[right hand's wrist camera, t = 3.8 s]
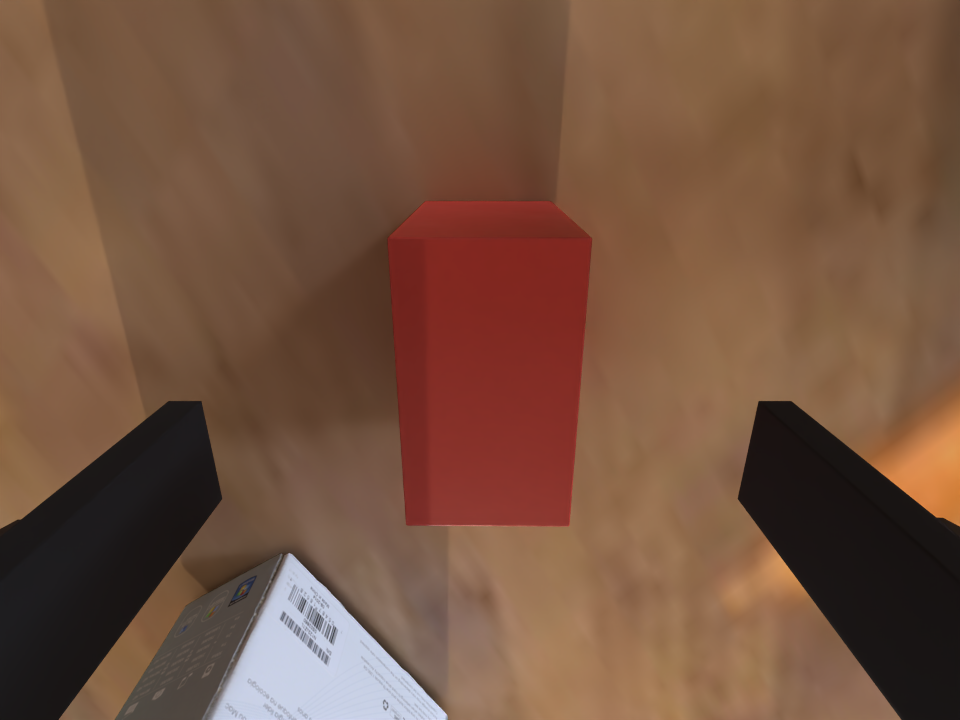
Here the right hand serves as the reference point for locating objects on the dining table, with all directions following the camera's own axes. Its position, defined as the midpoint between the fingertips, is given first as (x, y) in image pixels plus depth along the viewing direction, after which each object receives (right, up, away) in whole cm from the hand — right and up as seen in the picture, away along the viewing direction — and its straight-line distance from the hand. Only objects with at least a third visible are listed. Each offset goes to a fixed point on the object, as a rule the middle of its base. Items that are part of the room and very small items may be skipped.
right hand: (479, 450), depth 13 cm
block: (0, +4, +10) cm, 11 cm away
